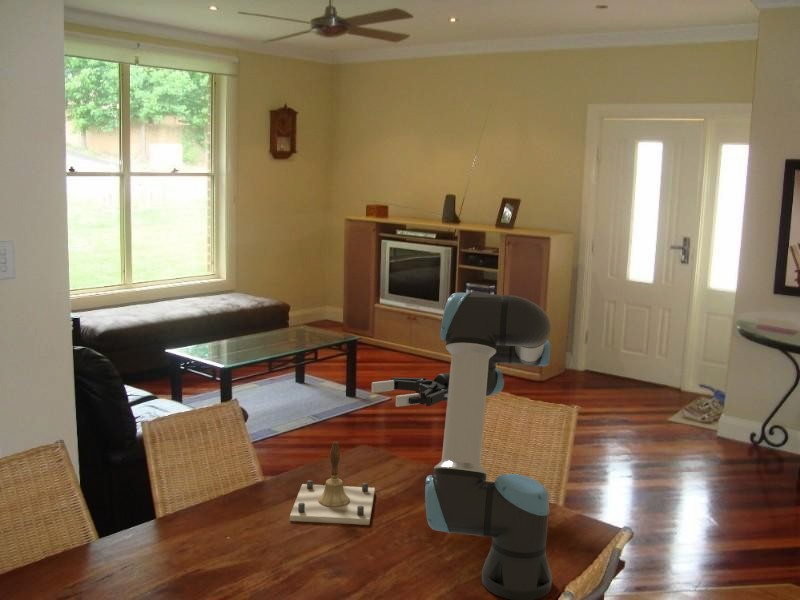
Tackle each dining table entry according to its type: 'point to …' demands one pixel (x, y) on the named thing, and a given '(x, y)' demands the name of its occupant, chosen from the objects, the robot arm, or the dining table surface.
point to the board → (346, 514)
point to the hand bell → (334, 483)
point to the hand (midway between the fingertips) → (383, 394)
